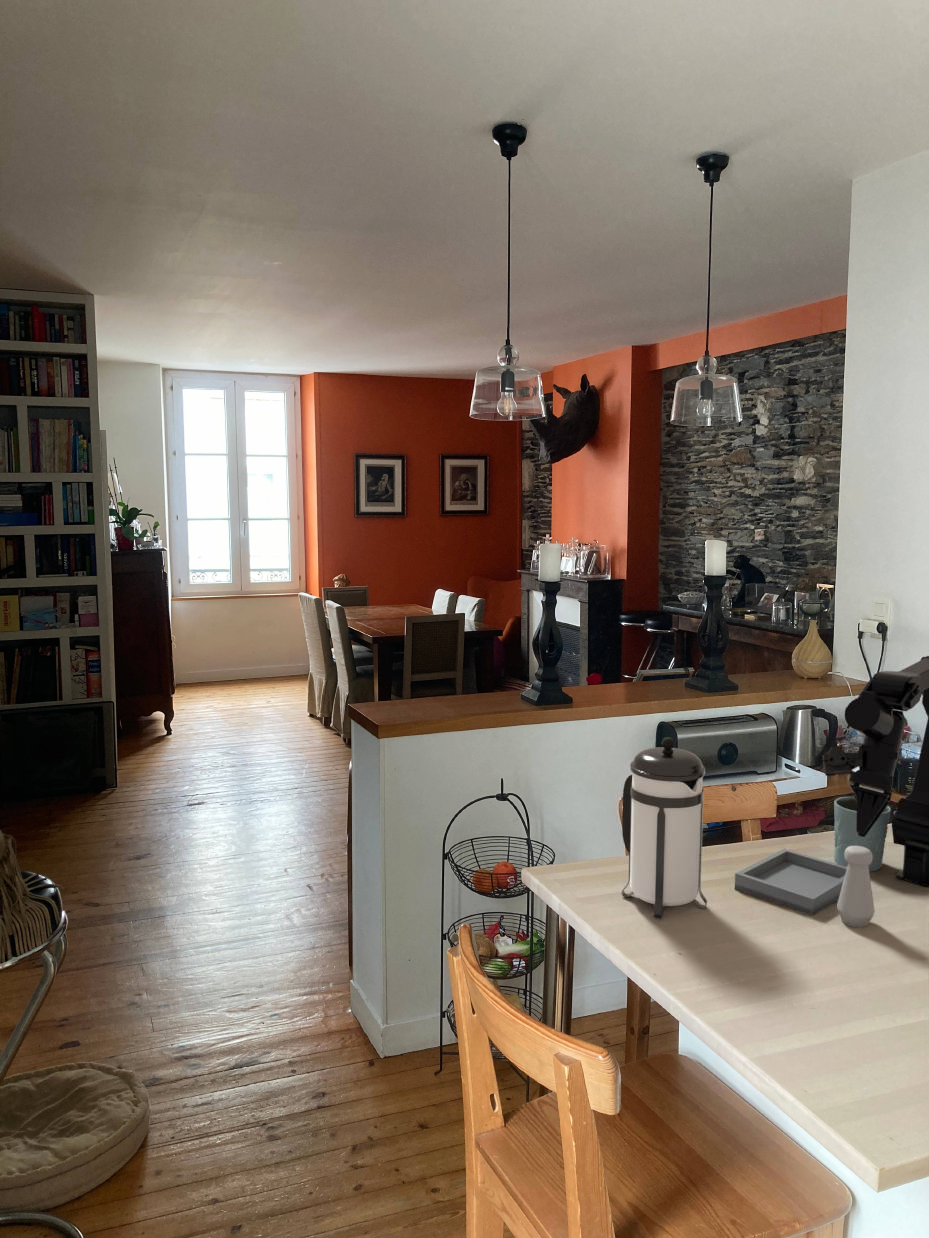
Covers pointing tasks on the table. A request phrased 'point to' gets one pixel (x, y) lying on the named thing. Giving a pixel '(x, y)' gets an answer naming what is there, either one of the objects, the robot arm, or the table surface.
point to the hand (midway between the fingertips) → (860, 834)
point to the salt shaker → (856, 888)
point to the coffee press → (664, 826)
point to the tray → (793, 881)
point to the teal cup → (849, 836)
